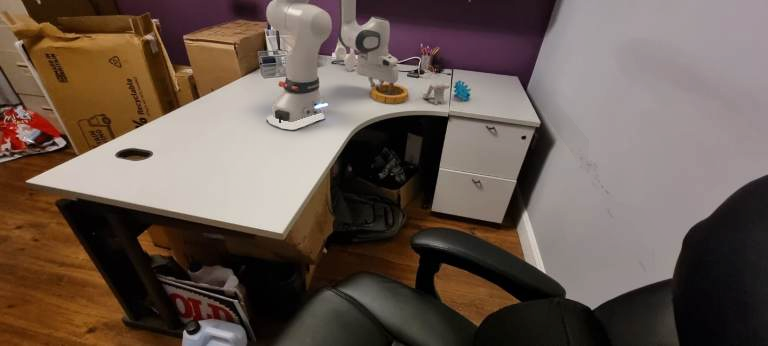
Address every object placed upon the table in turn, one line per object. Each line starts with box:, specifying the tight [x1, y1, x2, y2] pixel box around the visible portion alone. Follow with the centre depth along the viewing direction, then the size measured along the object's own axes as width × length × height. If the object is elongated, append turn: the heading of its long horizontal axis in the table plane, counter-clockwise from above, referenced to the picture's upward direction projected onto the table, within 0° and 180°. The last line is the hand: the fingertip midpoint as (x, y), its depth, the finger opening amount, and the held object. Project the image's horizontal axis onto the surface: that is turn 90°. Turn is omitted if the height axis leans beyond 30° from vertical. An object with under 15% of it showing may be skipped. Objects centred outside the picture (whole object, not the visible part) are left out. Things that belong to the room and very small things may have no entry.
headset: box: [332, 37, 357, 72], centre depth 174 cm, size 20×7×18 cm, turn 26°
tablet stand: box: [422, 83, 450, 105], centre depth 145 cm, size 9×8×8 cm
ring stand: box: [379, 83, 401, 96], centre depth 146 cm, size 10×10×6 cm
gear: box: [453, 79, 472, 102], centre depth 152 cm, size 11×6×10 cm
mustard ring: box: [370, 82, 409, 105], centre depth 147 cm, size 17×17×3 cm
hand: (375, 88), depth 149 cm, fingers closed on mustard ring, 2 cm apart
